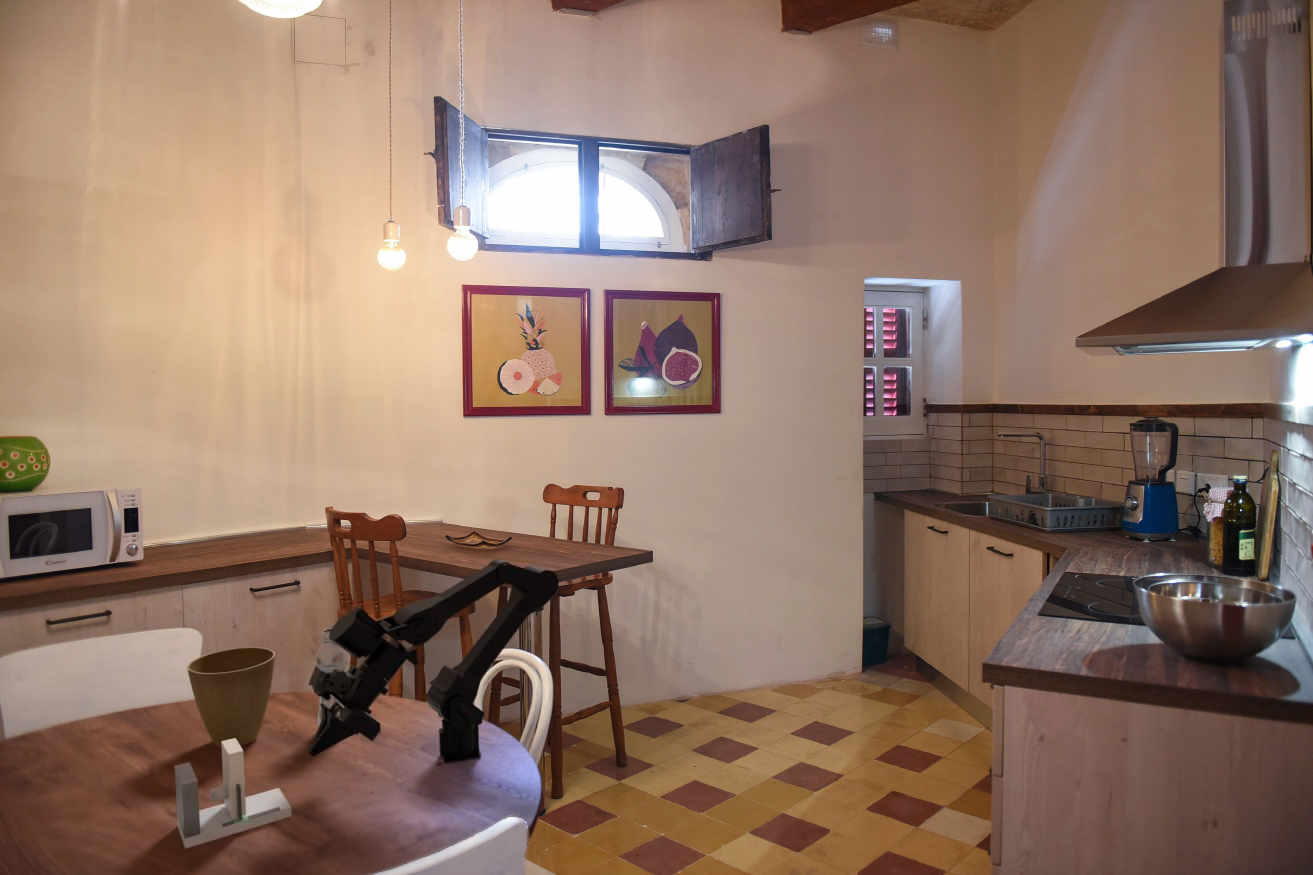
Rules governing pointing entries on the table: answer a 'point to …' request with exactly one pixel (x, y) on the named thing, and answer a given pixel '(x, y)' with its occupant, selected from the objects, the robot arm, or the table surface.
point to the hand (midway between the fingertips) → (310, 754)
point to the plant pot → (232, 691)
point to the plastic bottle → (330, 661)
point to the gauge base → (220, 823)
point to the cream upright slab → (232, 780)
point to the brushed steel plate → (187, 800)
